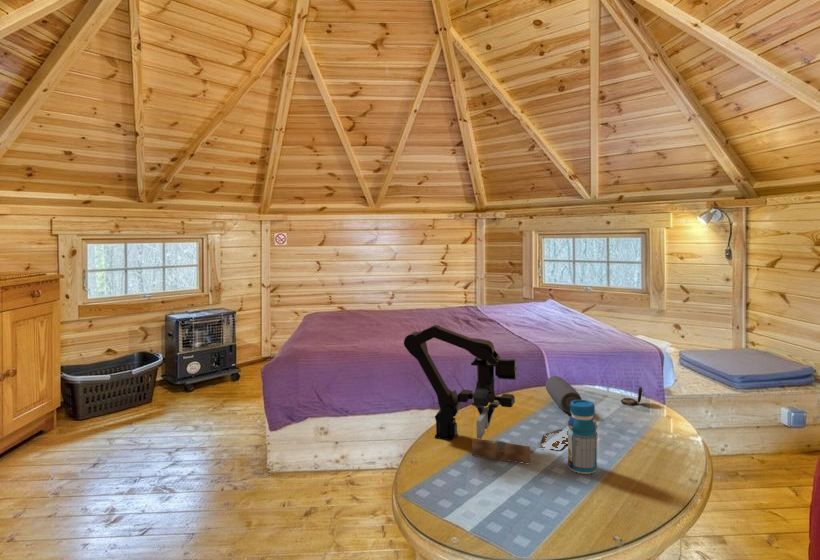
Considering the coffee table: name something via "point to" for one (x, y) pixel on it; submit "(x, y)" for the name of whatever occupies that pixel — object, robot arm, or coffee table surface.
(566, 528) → the coffee table surface
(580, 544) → the coffee table surface
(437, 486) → the coffee table surface
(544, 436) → the wooden fragment
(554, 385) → the bluetooth speaker
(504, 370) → the robot arm
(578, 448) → the beverage bottle
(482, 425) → the tapered grey plank
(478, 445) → the stepped wooden block
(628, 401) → the compass
